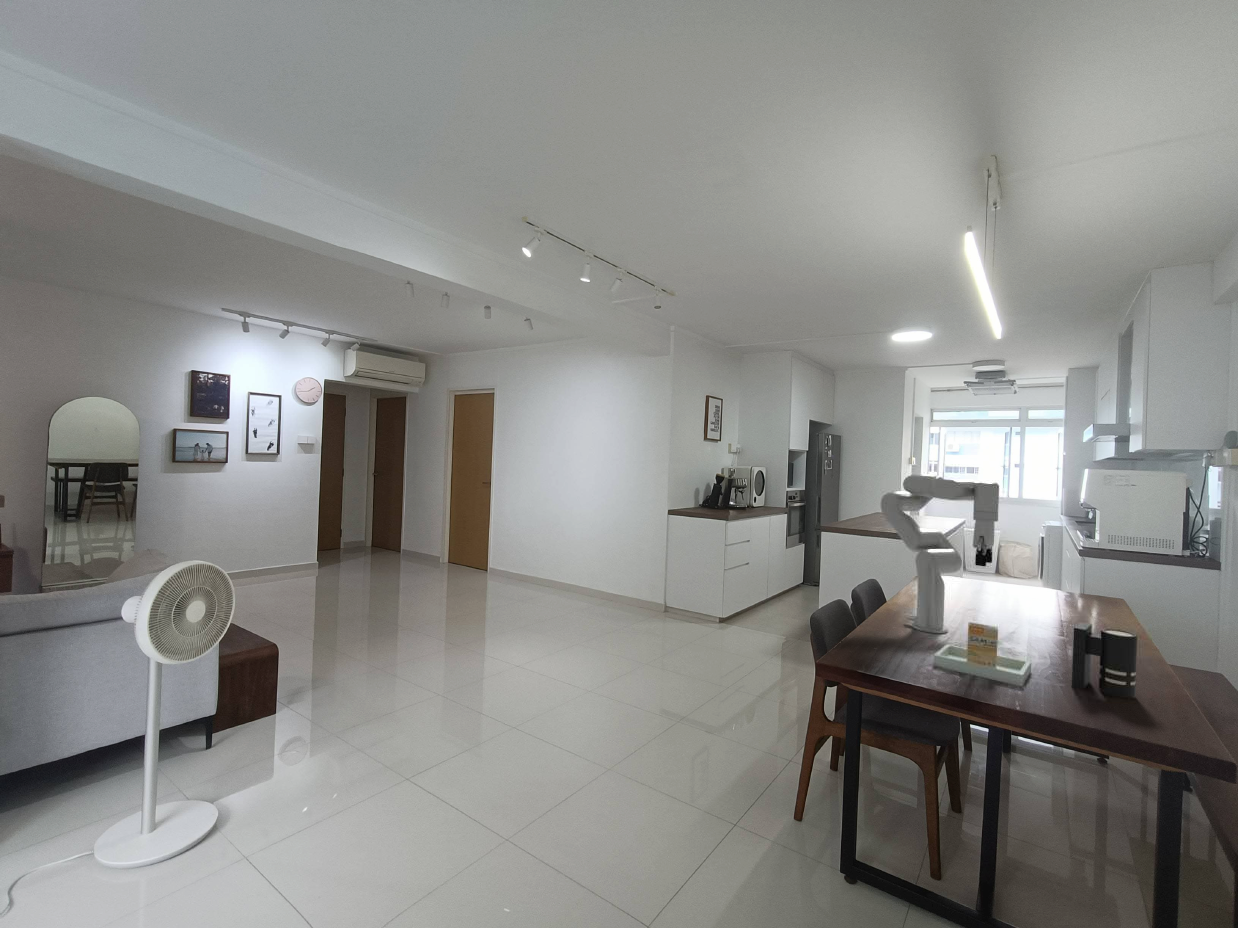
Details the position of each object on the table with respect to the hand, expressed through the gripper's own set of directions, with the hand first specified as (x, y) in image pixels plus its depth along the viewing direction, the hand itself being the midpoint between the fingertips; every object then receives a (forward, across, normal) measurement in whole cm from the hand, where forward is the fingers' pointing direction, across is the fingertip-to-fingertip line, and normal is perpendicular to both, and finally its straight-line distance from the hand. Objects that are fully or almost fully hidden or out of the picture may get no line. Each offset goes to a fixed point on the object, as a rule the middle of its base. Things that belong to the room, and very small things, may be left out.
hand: (983, 564), depth 210 cm
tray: (+30, +25, +5) cm, 39 cm away
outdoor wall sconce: (+30, +18, +35) cm, 50 cm away
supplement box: (+29, +25, +5) cm, 39 cm away
